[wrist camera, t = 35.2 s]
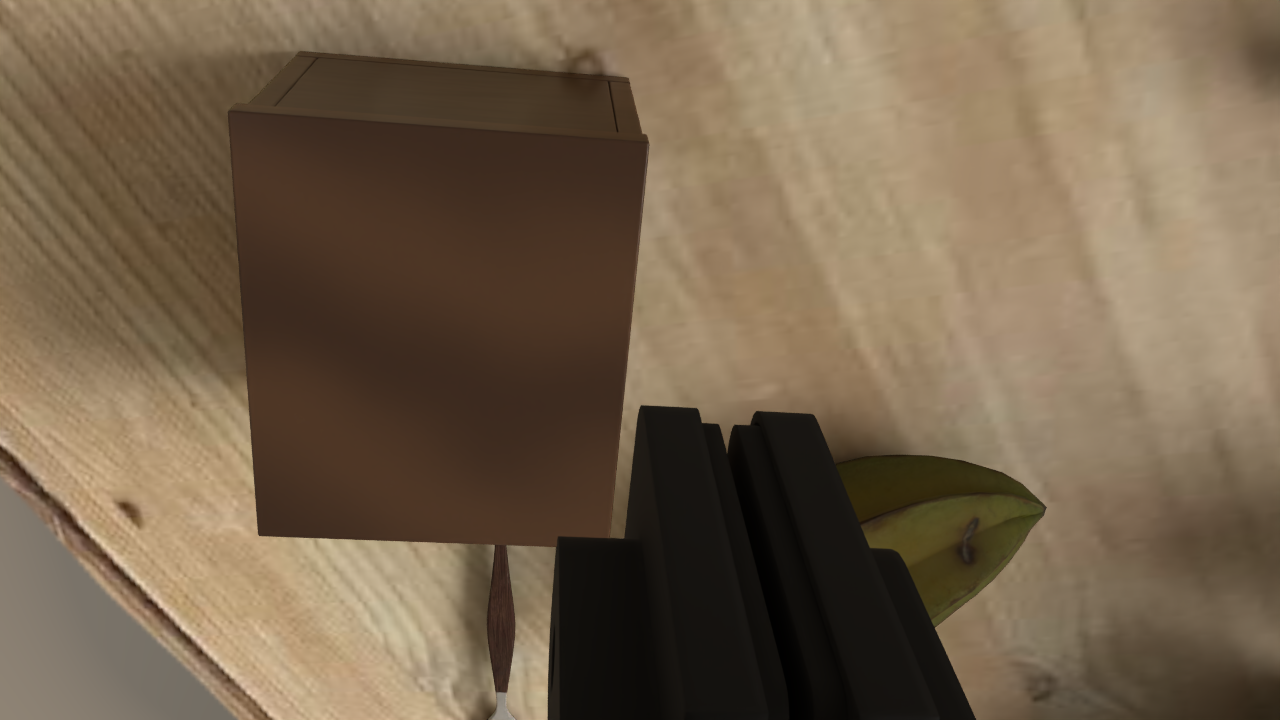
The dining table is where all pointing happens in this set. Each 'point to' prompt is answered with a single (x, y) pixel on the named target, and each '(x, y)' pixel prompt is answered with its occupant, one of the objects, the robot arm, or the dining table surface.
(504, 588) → the fork
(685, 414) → the robot arm
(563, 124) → the chest
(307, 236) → the lid
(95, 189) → the dining table surface
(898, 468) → the fruit
